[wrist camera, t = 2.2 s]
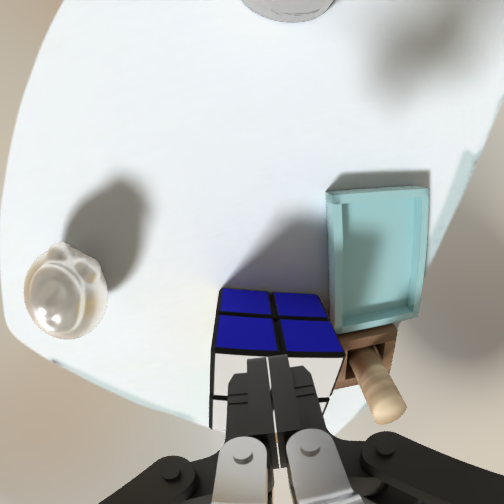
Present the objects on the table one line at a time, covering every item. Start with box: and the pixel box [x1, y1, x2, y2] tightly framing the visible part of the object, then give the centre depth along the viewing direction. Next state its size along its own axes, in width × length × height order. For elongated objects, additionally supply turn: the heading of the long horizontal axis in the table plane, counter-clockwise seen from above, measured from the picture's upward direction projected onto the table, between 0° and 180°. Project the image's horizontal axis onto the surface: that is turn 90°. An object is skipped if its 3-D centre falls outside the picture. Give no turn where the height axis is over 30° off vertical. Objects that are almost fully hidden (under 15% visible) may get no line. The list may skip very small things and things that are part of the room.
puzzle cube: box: [209, 288, 346, 433], centre depth 26 cm, size 10×10×10 cm
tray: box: [325, 185, 429, 334], centre depth 27 cm, size 14×10×2 cm
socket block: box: [334, 323, 397, 389], centre depth 31 cm, size 7×7×3 cm
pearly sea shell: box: [24, 242, 108, 340], centre depth 23 cm, size 9×10×10 cm
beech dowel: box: [347, 346, 406, 425], centre depth 27 cm, size 3×3×11 cm
